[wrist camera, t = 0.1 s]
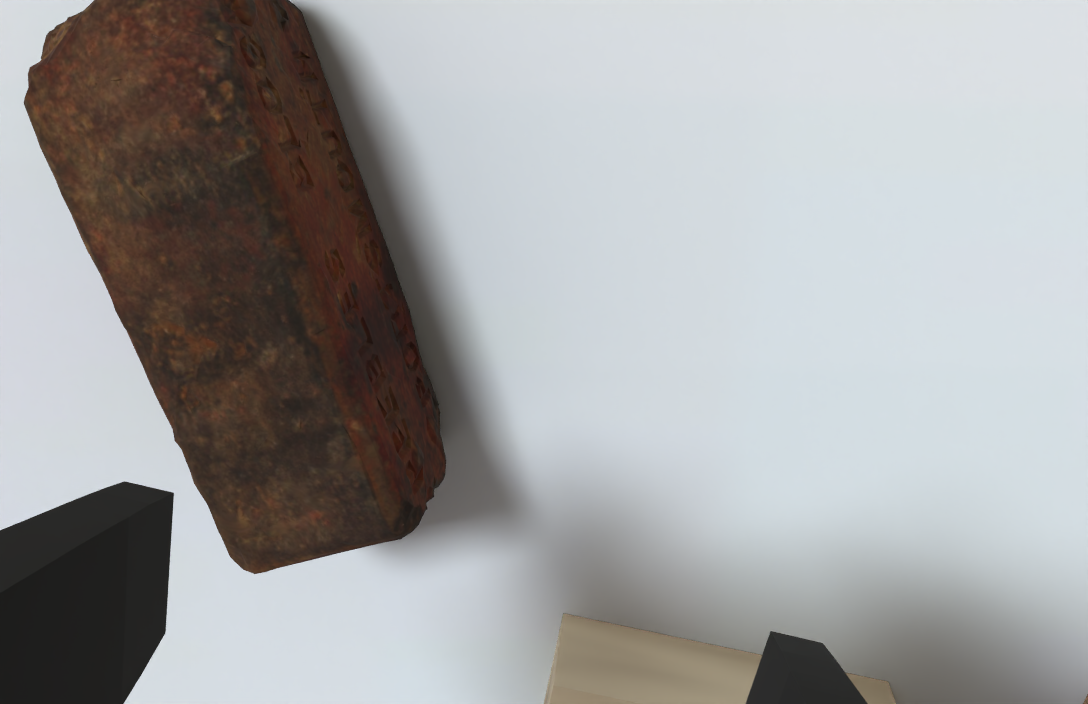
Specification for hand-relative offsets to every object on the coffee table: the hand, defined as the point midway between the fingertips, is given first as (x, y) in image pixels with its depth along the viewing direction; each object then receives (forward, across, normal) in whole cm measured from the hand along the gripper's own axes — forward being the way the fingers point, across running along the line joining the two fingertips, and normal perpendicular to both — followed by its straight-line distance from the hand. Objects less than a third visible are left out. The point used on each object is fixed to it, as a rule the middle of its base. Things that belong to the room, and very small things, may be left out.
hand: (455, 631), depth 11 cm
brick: (+10, +6, -1) cm, 12 cm away
